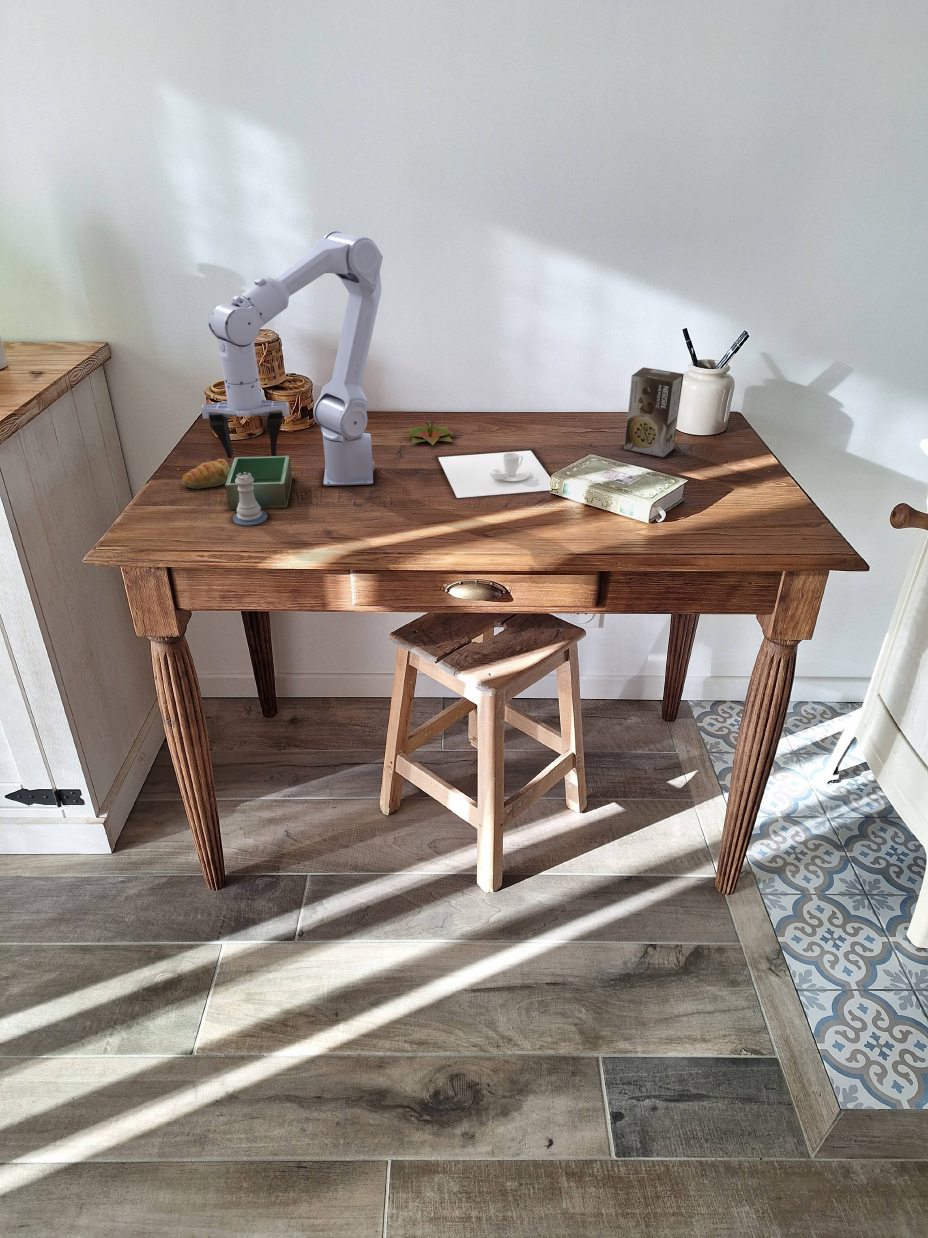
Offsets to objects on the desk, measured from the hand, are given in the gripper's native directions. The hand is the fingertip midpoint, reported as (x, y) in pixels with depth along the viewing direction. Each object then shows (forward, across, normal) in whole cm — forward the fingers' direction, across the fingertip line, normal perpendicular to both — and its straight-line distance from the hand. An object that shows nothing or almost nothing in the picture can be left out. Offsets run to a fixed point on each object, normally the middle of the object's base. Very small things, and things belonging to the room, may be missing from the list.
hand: (252, 455), depth 151 cm
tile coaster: (+10, -1, -5) cm, 11 cm away
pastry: (+10, -10, +12) cm, 19 cm away
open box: (+10, 0, +5) cm, 11 cm away
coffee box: (+11, +80, +21) cm, 83 cm away
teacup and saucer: (+10, +45, +11) cm, 48 cm away
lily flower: (+10, +34, +31) cm, 47 cm away
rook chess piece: (+10, -1, -5) cm, 11 cm away
